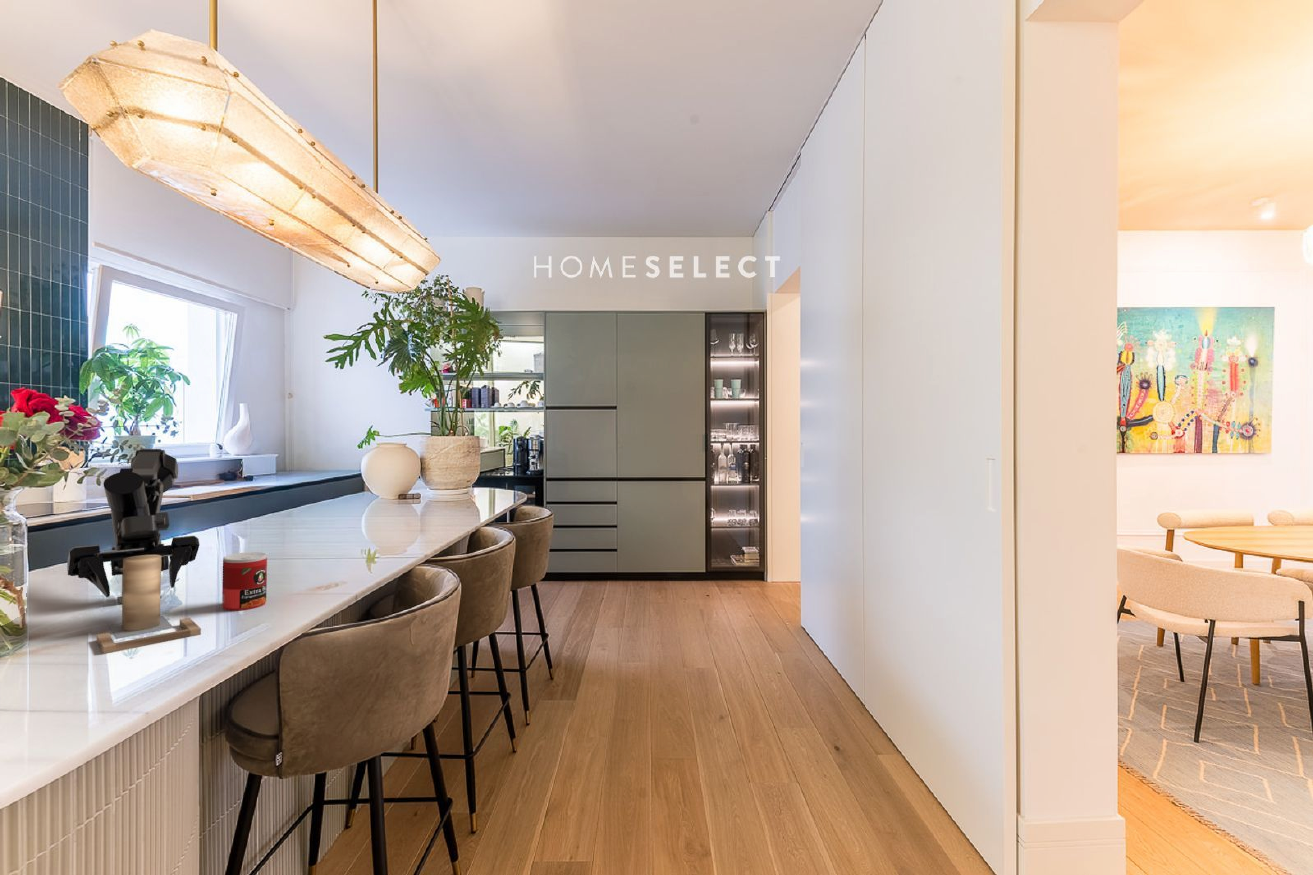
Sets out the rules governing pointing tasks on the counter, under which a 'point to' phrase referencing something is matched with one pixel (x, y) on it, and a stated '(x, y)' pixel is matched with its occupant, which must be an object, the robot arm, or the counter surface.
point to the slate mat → (121, 634)
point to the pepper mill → (141, 592)
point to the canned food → (244, 581)
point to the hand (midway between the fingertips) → (141, 591)
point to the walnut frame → (148, 638)
